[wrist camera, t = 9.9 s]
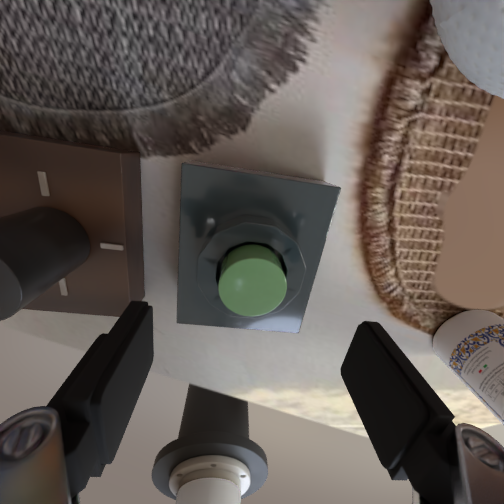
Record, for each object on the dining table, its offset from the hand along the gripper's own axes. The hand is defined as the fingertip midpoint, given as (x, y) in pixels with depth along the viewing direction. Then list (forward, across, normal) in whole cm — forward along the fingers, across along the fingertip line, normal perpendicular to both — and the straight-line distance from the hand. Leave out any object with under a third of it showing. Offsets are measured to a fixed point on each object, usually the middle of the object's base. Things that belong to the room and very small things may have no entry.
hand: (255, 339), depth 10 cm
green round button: (+6, 0, 0) cm, 6 cm away
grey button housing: (+11, 0, 0) cm, 11 cm away
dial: (+7, +13, 0) cm, 15 cm away
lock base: (+11, +13, 0) cm, 17 cm away
